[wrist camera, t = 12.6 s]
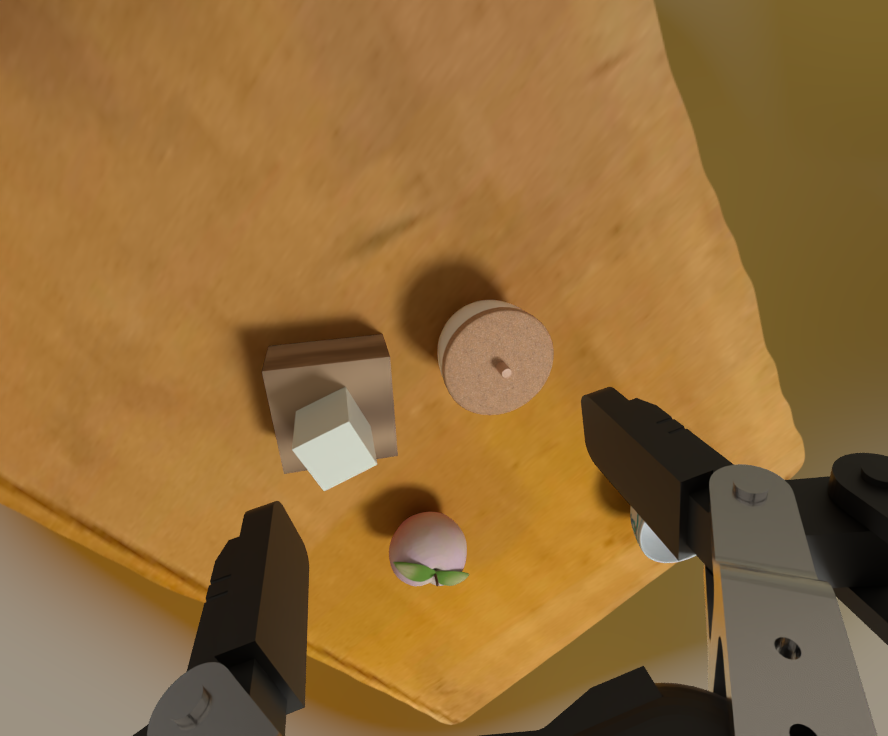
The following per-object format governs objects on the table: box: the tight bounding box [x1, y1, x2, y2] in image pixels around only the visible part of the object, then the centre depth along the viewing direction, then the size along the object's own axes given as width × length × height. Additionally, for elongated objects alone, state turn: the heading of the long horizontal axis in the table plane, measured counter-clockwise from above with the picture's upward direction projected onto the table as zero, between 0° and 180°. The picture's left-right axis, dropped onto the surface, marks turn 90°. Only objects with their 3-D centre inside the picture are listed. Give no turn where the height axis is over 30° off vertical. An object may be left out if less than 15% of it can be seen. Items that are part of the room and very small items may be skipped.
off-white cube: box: [292, 387, 377, 491], centre depth 40 cm, size 5×5×6 cm
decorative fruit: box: [389, 512, 469, 586], centre depth 53 cm, size 9×8×10 cm
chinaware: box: [630, 507, 696, 563], centre depth 62 cm, size 15×15×8 cm
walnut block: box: [262, 334, 398, 474], centre depth 45 cm, size 11×11×6 cm
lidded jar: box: [438, 300, 553, 415], centre depth 44 cm, size 11×11×9 cm
